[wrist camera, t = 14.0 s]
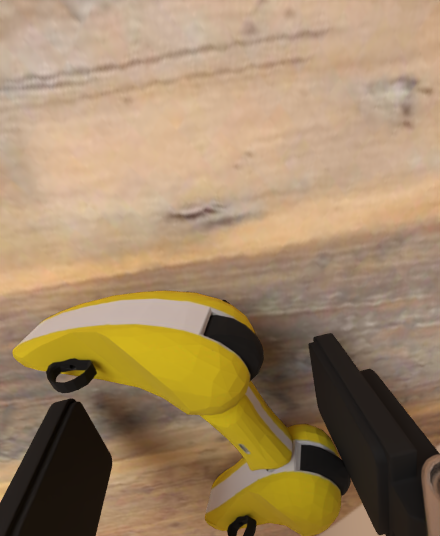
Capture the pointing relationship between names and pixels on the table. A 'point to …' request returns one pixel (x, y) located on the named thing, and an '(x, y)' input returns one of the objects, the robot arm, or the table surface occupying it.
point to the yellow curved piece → (200, 398)
